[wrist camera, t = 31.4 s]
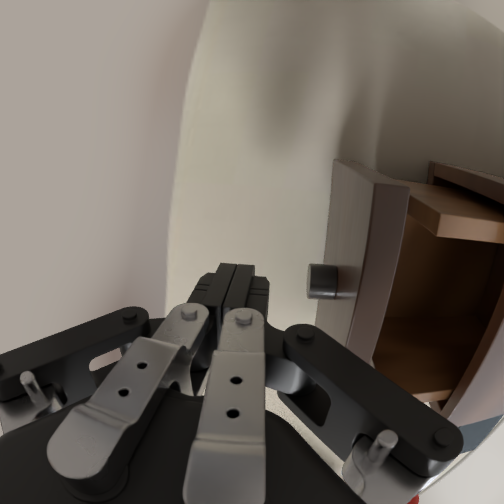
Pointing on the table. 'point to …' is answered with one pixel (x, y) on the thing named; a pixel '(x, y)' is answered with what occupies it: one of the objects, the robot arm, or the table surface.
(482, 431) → the mat
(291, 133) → the table surface
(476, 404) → the cabinet
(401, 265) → the drawer
